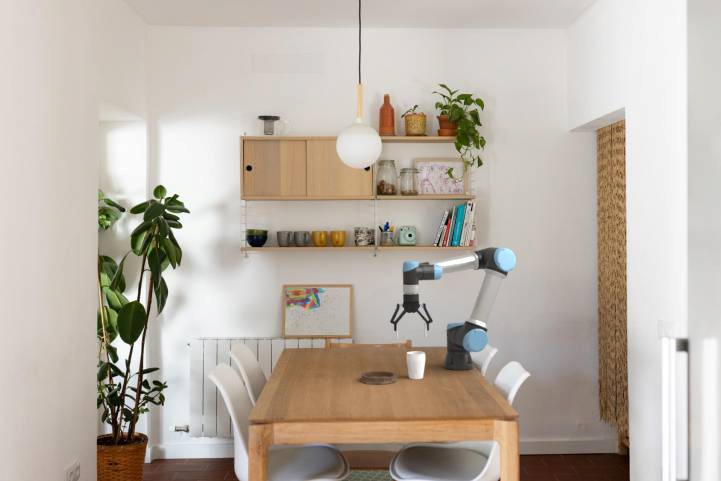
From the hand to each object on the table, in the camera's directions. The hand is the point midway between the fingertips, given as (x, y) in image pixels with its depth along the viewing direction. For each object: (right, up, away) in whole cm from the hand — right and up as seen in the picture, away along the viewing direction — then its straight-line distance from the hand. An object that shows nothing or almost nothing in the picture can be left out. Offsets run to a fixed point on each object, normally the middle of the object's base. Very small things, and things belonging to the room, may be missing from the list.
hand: (411, 337), depth 319 cm
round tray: (-16, -19, -6) cm, 26 cm away
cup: (+2, -19, -1) cm, 19 cm away
